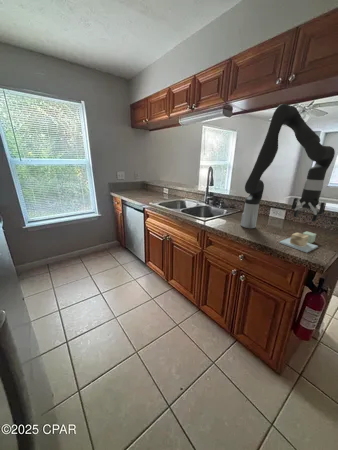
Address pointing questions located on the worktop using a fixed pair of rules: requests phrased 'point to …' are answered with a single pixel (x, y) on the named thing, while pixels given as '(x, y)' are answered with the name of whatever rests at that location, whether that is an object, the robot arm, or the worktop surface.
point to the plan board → (304, 248)
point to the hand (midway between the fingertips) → (304, 219)
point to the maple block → (299, 239)
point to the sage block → (310, 237)
